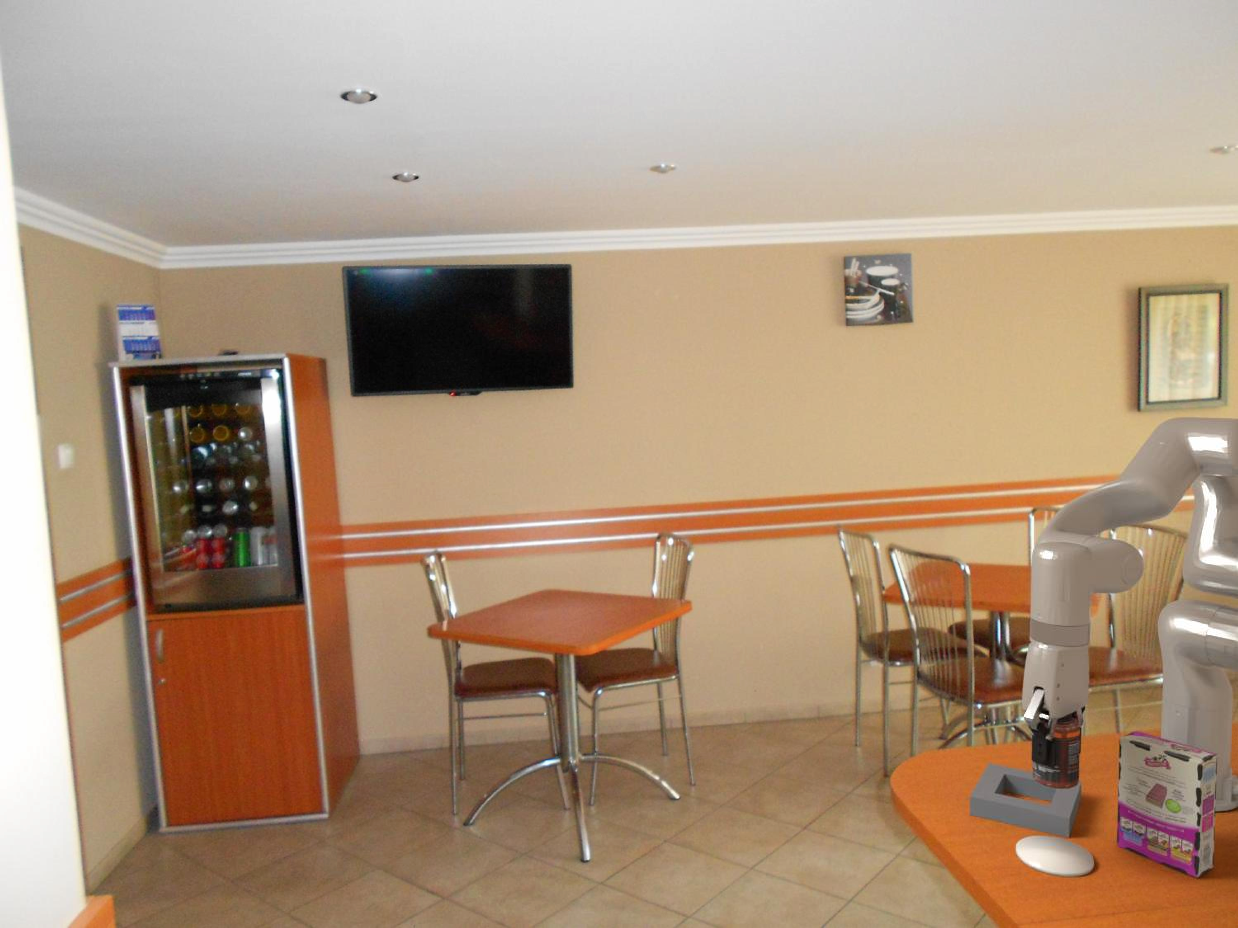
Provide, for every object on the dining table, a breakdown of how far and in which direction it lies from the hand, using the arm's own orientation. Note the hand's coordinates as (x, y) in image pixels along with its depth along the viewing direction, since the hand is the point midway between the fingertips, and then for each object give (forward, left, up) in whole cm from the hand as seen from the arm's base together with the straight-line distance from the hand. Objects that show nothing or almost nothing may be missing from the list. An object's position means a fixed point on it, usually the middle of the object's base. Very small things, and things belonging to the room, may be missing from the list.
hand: (1056, 756), depth 129 cm
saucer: (0, 0, -15) cm, 15 cm away
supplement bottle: (0, 0, -4) cm, 4 cm away
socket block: (+6, -14, -15) cm, 21 cm away
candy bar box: (-13, -8, -15) cm, 22 cm away
